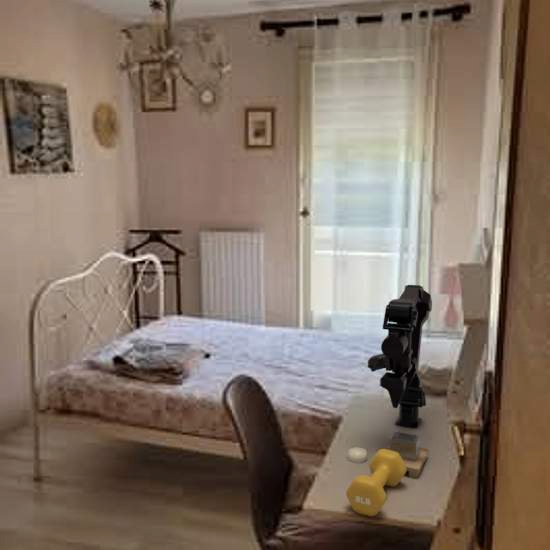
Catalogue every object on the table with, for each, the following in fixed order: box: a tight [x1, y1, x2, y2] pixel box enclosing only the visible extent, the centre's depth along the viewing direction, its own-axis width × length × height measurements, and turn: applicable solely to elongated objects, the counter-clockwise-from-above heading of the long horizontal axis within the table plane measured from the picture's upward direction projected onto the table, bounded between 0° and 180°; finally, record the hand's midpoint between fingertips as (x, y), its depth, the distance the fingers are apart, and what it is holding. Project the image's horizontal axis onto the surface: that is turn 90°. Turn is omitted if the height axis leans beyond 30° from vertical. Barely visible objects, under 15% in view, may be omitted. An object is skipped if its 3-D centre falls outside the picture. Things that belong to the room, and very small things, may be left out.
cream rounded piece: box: [347, 446, 368, 464], centre depth 160 cm, size 5×5×2 cm
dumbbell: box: [345, 448, 407, 517], centre depth 141 cm, size 19×9×8 cm, turn 150°
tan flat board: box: [386, 446, 430, 479], centre depth 156 cm, size 12×10×2 cm
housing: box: [388, 430, 421, 462], centre depth 156 cm, size 7×5×5 cm, turn 64°
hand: (399, 401), depth 166 cm, fingers open, 9 cm apart
